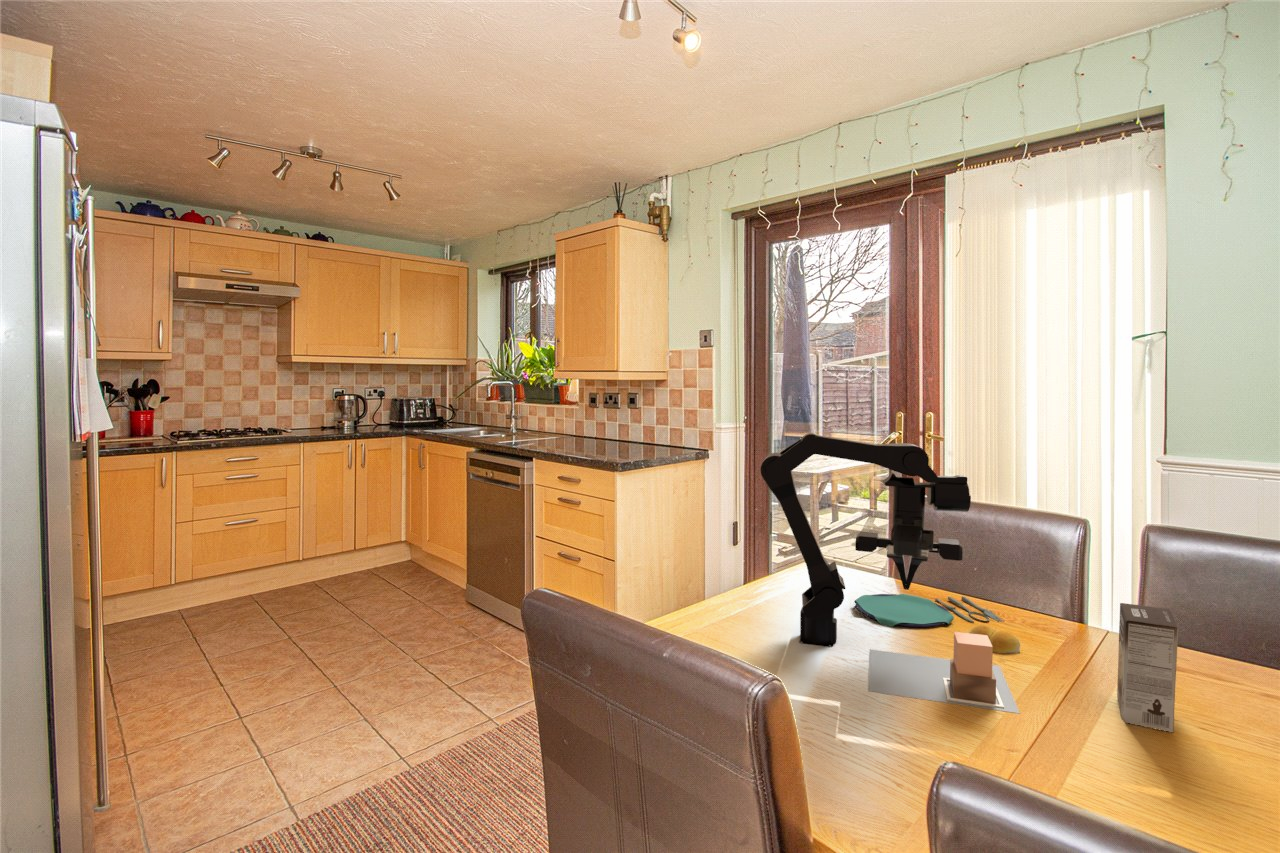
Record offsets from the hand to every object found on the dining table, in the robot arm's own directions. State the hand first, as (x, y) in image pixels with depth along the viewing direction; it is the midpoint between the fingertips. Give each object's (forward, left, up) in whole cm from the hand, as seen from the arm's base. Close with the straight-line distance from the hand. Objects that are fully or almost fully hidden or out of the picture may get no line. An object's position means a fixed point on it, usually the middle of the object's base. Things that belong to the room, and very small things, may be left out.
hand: (906, 589), depth 124 cm
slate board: (+5, -13, -12) cm, 18 cm away
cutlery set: (+5, +22, -13) cm, 26 cm away
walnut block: (+10, -17, -11) cm, 23 cm away
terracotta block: (+10, -17, -7) cm, 21 cm away
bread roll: (+16, +7, -12) cm, 21 cm away
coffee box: (+34, -15, -12) cm, 39 cm away
